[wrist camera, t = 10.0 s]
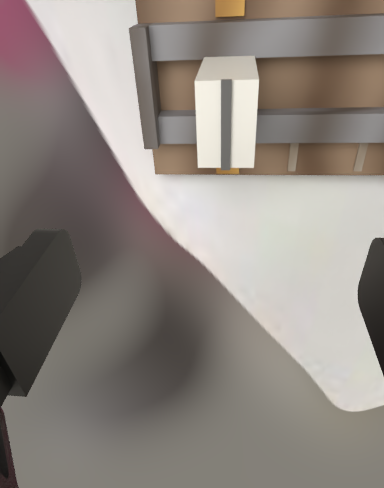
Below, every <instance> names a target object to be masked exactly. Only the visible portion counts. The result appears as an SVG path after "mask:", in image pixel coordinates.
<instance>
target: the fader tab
mask: <svg viewBox="0 0 384 488" xmlns="http://www.w3.org/2000/svg"><path fill="white" fill-rule="evenodd" d="M258 90H259V76H258V71H257V65H256V60H255V56H227V57H204V59H203V61H202V64H201V66H200V69H199V71H198V74H197V76H196V79H195V107H196V133H197V158H198V168H221V170H230V168H254V157H255V140H256V124H257V107H258Z"/></svg>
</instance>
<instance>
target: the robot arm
mask: <svg viewBox="0 0 384 488" xmlns="http://www.w3.org/2000/svg"><path fill="white" fill-rule="evenodd" d="M80 287H81V272H80V268H79V265H78V262H77V259H76V255H75V252H74V248H73V245H72V242H71V238H70V235H69V233H68V232H67V231H66V230H64V229H36V230H35V231H34V232H33V233H32V234H31V235H30V237H29V238H28V239H27V240H26V241H25V243H24V244H23V245H22V246H18V247H16V248H15V249H13V250H12V251H11V252H9V253H7V254H6V255H5V256H3V257H2V258H0V488H19V487H18V483H17V479H16V474H15V468H14V463H13V458H12V452H11V447H10V441H9V436H8V431H7V425H6V420H5V415H4V411H3V409H2V408H1V406H2V404H3V402H4V400H5V399H6V397H7V395H12V396H25V397H26V396H27V394H28V392H29V390H30V389H31V387H32V385H33V383H34V381H35V379H36V377H37V375H38V373H39V371H40V369H41V366H42V365H43V363H44V361H45V359H46V357H47V355H48V353H49V351H50V349H51V347H52V345H53V343H54V341H55V339H56V337H57V335H58V333H59V331H60V329H61V327H62V325H63V323H64V321H65V319H66V317H67V316H68V314H69V312H70V310H71V308H72V306H73V304H74V302H75V300H76V298H77V296H78V294H79V291H80ZM358 303H359V307H360V310H361V313H362V316H363V319H364V322H365V324H366V327H367V330H368V333H369V336H370V339H371V341H372V344H373V347H374V350H375V353H376V356H377V358H378V361H379V364H380V367H381V370H382V373H383V375H384V238H375V239H374V240H373V241H372V243H371V245H370V249H369V252H368V255H367V258H366V262H365V265H364V268H363V272H362V275H361V278H360V281H359V285H358Z"/></svg>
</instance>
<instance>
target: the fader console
mask: <svg viewBox="0 0 384 488" xmlns="http://www.w3.org/2000/svg"><path fill="white" fill-rule="evenodd" d="M135 1H136V9H137V18H138V24H136V25H134V26H133V27H131V28H129V33H130V40H131V48H132V56H133V64H134V71H135V79H136V87H137V95H138V103H139V110H140V118H141V126H142V134H143V141H144V149H153V157H154V166H155V174H216V175H384V0H135ZM227 56H255V60H256V65H257V71H258V76H259V90H258V107H257V124H256V140H255V157H254V168H230V170H221V168H198V158H197V133H196V107H195V79H196V76H197V74H198V71H199V69H200V66H201V64H202V61H203V59H204V57H227Z"/></svg>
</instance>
